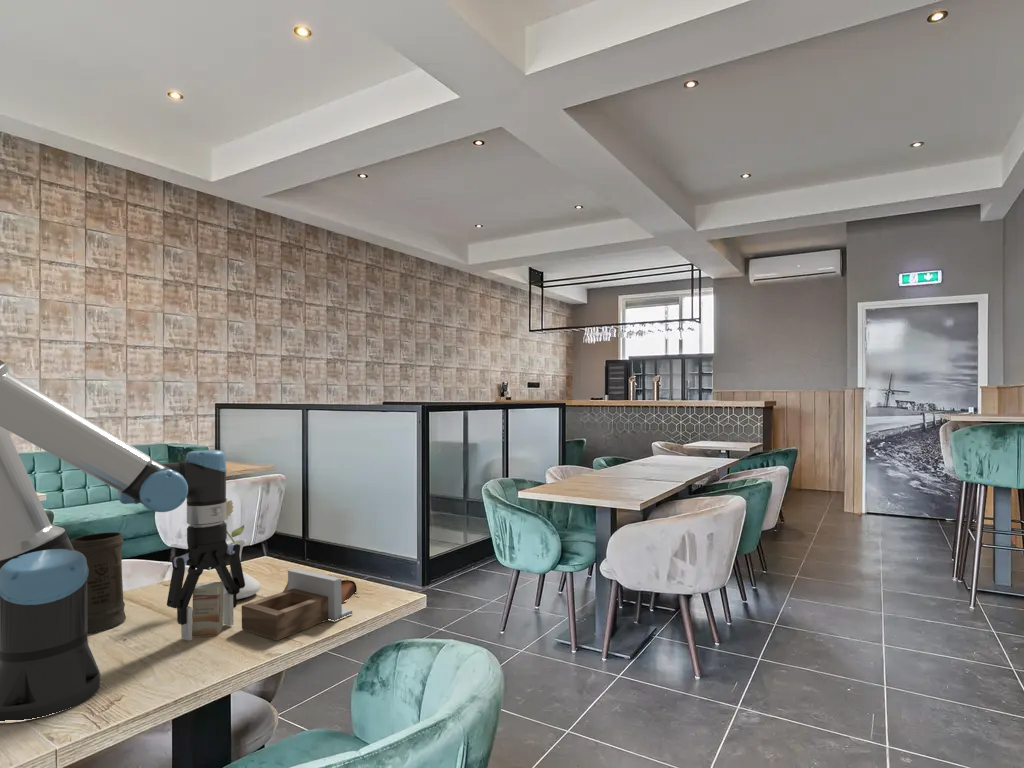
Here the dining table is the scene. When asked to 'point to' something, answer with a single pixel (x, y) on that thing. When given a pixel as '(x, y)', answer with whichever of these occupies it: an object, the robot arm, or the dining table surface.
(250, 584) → the flower in vase
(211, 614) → the skincare box
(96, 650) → the dining table surface
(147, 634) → the dining table surface
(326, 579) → the wall
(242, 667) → the dining table surface
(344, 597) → the sunglasses case
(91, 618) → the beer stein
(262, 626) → the socket block
